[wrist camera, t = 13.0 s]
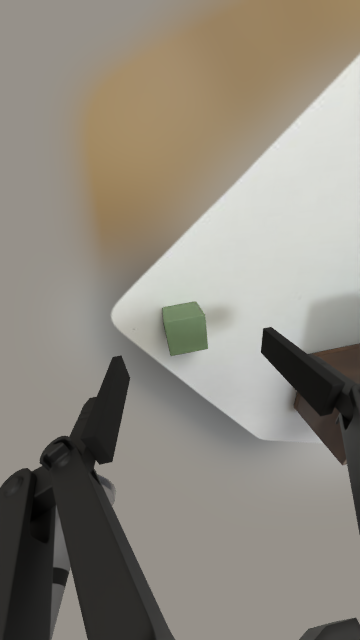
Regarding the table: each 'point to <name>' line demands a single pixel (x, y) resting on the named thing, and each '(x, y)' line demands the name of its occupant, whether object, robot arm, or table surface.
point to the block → (185, 328)
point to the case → (355, 365)
